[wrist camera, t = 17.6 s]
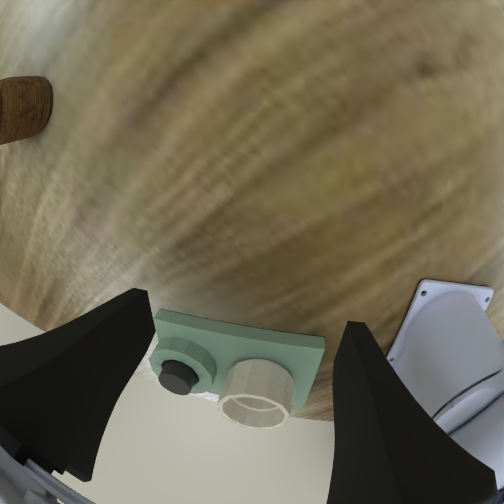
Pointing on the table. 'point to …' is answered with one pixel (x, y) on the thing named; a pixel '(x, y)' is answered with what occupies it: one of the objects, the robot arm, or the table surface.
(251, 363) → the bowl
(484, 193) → the table surface
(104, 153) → the table surface
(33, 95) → the utensil holder
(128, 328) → the robot arm
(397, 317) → the table surface
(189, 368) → the black knob
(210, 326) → the green knob panel
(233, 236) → the table surface
